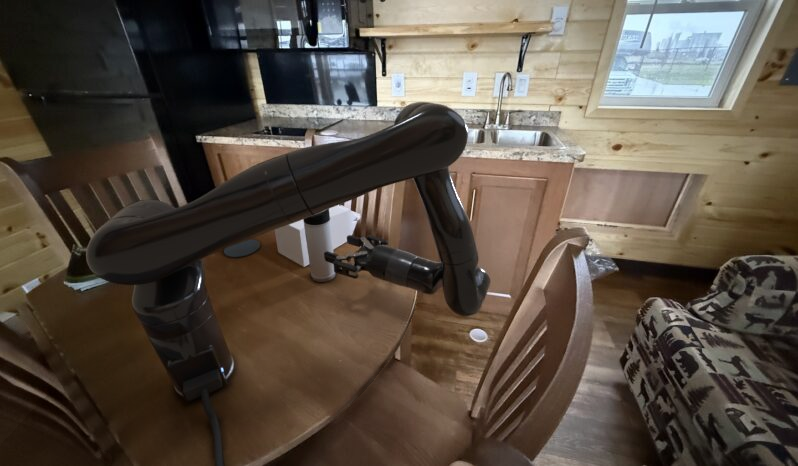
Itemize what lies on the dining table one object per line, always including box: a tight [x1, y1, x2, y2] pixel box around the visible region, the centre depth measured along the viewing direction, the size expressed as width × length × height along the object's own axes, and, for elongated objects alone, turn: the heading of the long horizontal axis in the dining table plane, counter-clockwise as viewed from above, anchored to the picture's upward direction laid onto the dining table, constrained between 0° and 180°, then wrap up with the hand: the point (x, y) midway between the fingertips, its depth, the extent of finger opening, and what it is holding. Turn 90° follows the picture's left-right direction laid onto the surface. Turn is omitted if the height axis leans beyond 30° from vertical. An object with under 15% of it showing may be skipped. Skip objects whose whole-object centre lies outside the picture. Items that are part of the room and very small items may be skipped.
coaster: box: [223, 238, 261, 259], centre depth 94 cm, size 10×10×1 cm
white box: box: [274, 204, 361, 268], centre depth 96 cm, size 12×12×26 cm
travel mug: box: [304, 209, 336, 283], centre depth 79 cm, size 6×7×20 cm
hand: (336, 246), depth 75 cm, fingers open, 8 cm apart
